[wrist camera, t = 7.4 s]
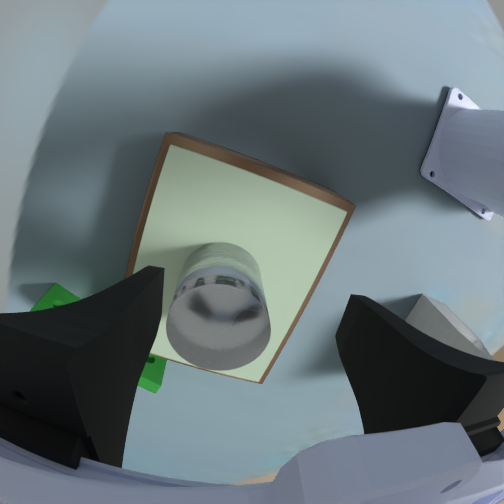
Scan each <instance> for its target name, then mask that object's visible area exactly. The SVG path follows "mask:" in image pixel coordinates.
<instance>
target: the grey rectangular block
mask: <svg viewBox="0 0 504 504" xmlns="http://www.w3.org/2000/svg"><path fill="white" fill-rule="evenodd" d="M405 322H407V323H409V324H410V325H412V326H413V327H415V328H417V329H418V330H420V331H421V332H423V333H425V334H427V335H428V336H430V337H432V338H434V339H436V340H438V341H440V342H442V343H444V344H446V345H449V346H451V347H453V348H456V349H458V350H461V351H463V352H466V353H469V354H472V355H475V356H478V357H482V358H485V359H489V360H493V358H492V357H491V355H490V354H489V352H488V351H487V349H486V348H485V346H484V345H483V343H482V341H481V340H480V339H479V338H478V337H477V336H476V334H475V333H474V332H473V331H472V330H471V329H470V328H469V327H468V326H467V325H466V324H465V323H464V322H463V321H462V320H461V319H460V318H459V317H458V316H457V315H456V314H455V313H454V312H453V311H452V310H451V309H450V308H449V307H448V306H447V305H446V304H444V303H442V302H440V301H438V300H436V299H433V298H431V297H429V296H427V295H425V294H423V293H422V295H421V296H420V298H419V300H418V301H417V303H416V304H415V306H414V307H413V309H412V310H411V312H410V314H409V315H408V317H407V318H406V320H405Z"/></svg>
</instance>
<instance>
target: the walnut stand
mask: <svg viewBox="0 0 504 504" xmlns="http://www.w3.org/2000/svg"><path fill="white" fill-rule="evenodd" d="M355 207H356V206H355V205H354V204H352V203H351V202H349V201H348V200H346V199H345V198H343V197H342V196H340V195H339V194H337V193H336V192H334V191H332V190H329V189H327V188H325V187H323V186H320V185H318V184H316V183H313V182H311V181H309V180H306V179H304V178H302V177H299V176H297V175H294V174H292V173H289V172H287V171H285V170H282V169H280V168H277V167H275V166H272V165H269V164H267V163H264V162H262V161H259V160H257V159H254V158H251V157H249V156H246V155H243V154H241V153H238V152H235V151H232V150H230V149H227V148H224V147H221V146H218V145H215V144H213V143H210V142H207V141H204V140H201V139H198V138H195V137H192V136H189V135H186V134H183V133H180V132H172V133H166V134H165V137H164V140H163V143H162V146H161V149H160V152H159V155H158V158H157V161H156V164H155V167H154V170H153V173H152V176H151V180H150V183H149V186H148V190H147V193H146V196H145V200H144V203H143V207H142V210H141V214H140V218H139V222H138V225H137V229H136V233H135V237H134V241H133V245H132V249H131V253H130V258H129V262H128V267H127V271H126V276H125V279H126V278H128V277H129V276H131V275H133V274H134V273H136V272H138V271H139V270H141V269H143V268H144V267H146V266H148V265H150V266H156V267H162V268H165V272H164V287H163V304H162V316H161V320H160V325H159V328H158V332H157V336H156V339H155V341H154V344H153V346H152V349H151V351H150V354H152V355H155V356H158V357H161V358H164V359H167V360H171V361H174V362H177V363H181V364H184V365H188V366H191V367H195V368H198V369H202V370H206V371H209V372H213V373H217V374H221V375H225V376H229V377H233V378H237V379H241V380H246V381H250V382H255V383H259V384H262V383H263V382H264V380H265V378H266V376H267V375H268V373H269V371H270V370H271V368H272V366H273V365H274V363H275V361H276V359H277V358H278V356H279V354H280V353H281V351H282V349H283V347H284V345H285V344H286V342H287V340H288V338H289V337H290V335H291V333H292V331H293V329H294V328H295V326H296V324H297V322H298V320H299V319H300V317H301V315H302V313H303V311H304V309H305V307H306V306H307V304H308V302H309V300H310V298H311V296H312V294H313V292H314V290H315V288H316V287H317V285H318V283H319V281H320V279H321V277H322V275H323V273H324V271H325V269H326V267H327V265H328V263H329V261H330V259H331V257H332V255H333V253H334V251H335V249H336V247H337V245H338V243H339V241H340V239H341V237H342V235H343V232H344V230H345V228H346V226H347V224H348V222H349V220H350V218H351V215H352V213H353V211H354V209H355ZM215 242H226V243H231V244H235V245H237V246H240V247H242V248H243V249H245V250H246V251H248V252H249V253H250V254H251V255H252V256H253V257H254V259H255V260H256V262H257V264H258V266H259V269H260V273H261V278H262V283H263V288H264V293H265V298H266V303H267V308H268V314H269V319H270V324H271V336H270V340H269V343H268V345H267V347H266V348H265V350H264V351H263V353H262V354H261V355H260V356H259V357H258V358H257V359H255V360H254V361H252V362H251V363H249V364H247V365H245V366H243V367H240V368H237V369H232V370H224V371H215V370H208V369H203V368H200V367H197V366H195V365H193V364H191V363H189V362H187V361H186V360H184V359H183V358H182V357H181V356H179V355H178V354H177V353H176V351H175V350H174V349H173V348H172V346H171V344H170V342H169V340H168V337H167V334H166V320H167V316H168V313H169V309H170V306H171V303H172V300H173V297H174V293H175V290H176V287H177V284H178V281H179V278H180V275H181V272H182V269H183V266H184V263H185V261H186V260H187V258H188V257H189V256H190V255H191V254H192V253H193V252H194V251H195V250H196V249H198V248H200V247H201V246H204V245H206V244H210V243H215Z"/></svg>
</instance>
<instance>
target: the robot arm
mask: <svg viewBox="0 0 504 504" xmlns="http://www.w3.org/2000/svg"><path fill="white" fill-rule="evenodd" d="M458 95H459V97H460V99H459V98H458ZM431 171H432V176H431V177H430V172H431ZM420 172H421V175H422V176H423V177H425V178H426V179H428V180H429V181H431V182H432V183H434V184H435V185H437V186H438V187H440V188H441V189H443V190H444V191H446V192H447V193H449V194H450V195H452V196H453V197H454V198H456V199H457V200H459V201H460V202H462V203H463V204H464V205H466V206H467V207H468V208H470V209H471V210H473V211H474V212H475V213H477V214H478V215H479V216H481V217H482V218H483V219H484V220H486V221H489V220H490V219H491V218H492V215H493V213H494V212H495V213H497V214H499V215H501V216H503V217H504V111H499V110H481V109H480V108H479V107H478V106H477V105H476V104H475V103H474V102H473V101H471V100H470V99H469V98H468V97H467V96H466V95H465V94H464V93H462V92H461V91H460V90H459V89H458V88H456V87H451V88H450V89H449V92H448V95H447V98H446V101H445V104H444V107H443V110H442V113H441V116H440V119H439V122H438V125H437V128H436V130H435V133H434V136H433V138H432V141H431V144H430V146H429V149H428V151H427V154H426V157H425V159H424V162H423V164H422V166H421V170H420ZM482 209H483V210H482ZM481 211H482V212H481ZM164 272H165V268H162V267H156V266H150V265H148V266H146V267H144V268H143V269H141V270H139V271H138V272H136V273H134V274H133V275H131V276H129V277H128V278H126V279H124V280H122V281H121V282H119V283H117V284H115V285H113V286H111V287H109V288H107V289H105V290H103V291H101V292H99V293H97V294H95V295H92V296H90V297H87V298H84V299H82V300H79V301H76V302H72V303H69V304H65V305H61V306H58V307H54V308H49V309H44V310H37V311H31V312H20V313H0V504H499V503H501V502H502V501H503V500H504V429H503V430H502V431H501V432H500V431H499V430H498V428H497V426H499V424H500V420H499V418H498V417H497V415H498V414H499V413H500V412H501V410H502V409H503V408H504V362H498V361H494V360H489V359H485V358H482V357H478V356H475V355H472V354H469V353H466V352H463V351H461V350H458V349H456V348H453V347H451V346H449V345H446V344H444V343H442V342H440V341H438V340H436V339H434V338H432V337H430V336H428V335H427V334H425V333H423V332H421V331H420V330H418V329H417V328H415V327H413V326H412V325H410V324H409V323H407V322H405V321H404V320H402V319H401V318H399V317H398V316H396V315H395V314H393V313H392V312H391V311H389V310H388V309H386V308H385V307H383V306H382V305H380V304H378V303H377V302H375V301H374V300H372V299H370V298H368V297H366V296H362V295H353V294H351V296H350V298H349V301H348V304H347V307H346V309H345V312H344V315H343V317H342V320H341V323H340V325H339V328H338V330H337V333H336V335H335V337H336V342H337V347H338V351H339V355H340V358H341V361H342V364H343V366H344V369H345V371H346V374H347V377H348V379H349V382H350V384H351V387H352V389H353V392H354V395H355V397H356V400H357V403H358V406H359V410H360V415H361V419H362V423H363V428H364V434H363V435H351V436H347V437H342V438H337V439H332V440H326V441H323V442H321V443H318V444H316V445H314V446H312V447H309V448H307V449H304V450H302V451H300V452H299V453H297V454H296V455H295V456H294V457H293V458H292V459H291V460H289V461H288V462H287V463H286V464H285V465H284V466H283V467H282V468H281V469H280V471H279V472H278V474H277V476H276V477H275V479H274V480H273V482H264V483H256V484H246V485H228V484H215V483H204V482H195V481H187V480H180V479H173V478H167V477H161V476H155V475H150V474H145V473H140V472H136V471H131V470H127V469H123V468H122V461H123V454H124V448H125V442H126V436H127V430H128V425H129V420H130V415H131V410H132V406H133V402H134V397H135V393H136V389H137V386H138V383H139V380H140V377H141V374H142V372H143V369H144V367H145V364H146V361H147V359H148V356H149V354H150V351H151V349H152V346H153V344H154V341H155V339H156V336H157V332H158V328H159V325H160V320H161V316H162V304H163V287H164Z"/></svg>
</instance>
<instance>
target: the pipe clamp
mask: <svg viewBox="0 0 504 504" xmlns="http://www.w3.org/2000/svg"><path fill="white" fill-rule="evenodd" d="M79 300H81V299H80V298H78V297H77V296H75V295H74V294H72V293H70V292H69V291H67V290H66V289H64V288H63V287H61V286H60V285H58V284H57V283H55V284H54V285H53V286H52V287H51V288H50V289H49V290H48V291H47V292H46V294H45V295H44V296H43V297H42V298H41V299H40V300H39V301H38V302H37V303H36V305H35V306H34V307H33V308H32V309H31V311H37V310H44V309H49V308H54V307H58V306H61V305H65V304H69V303H72V302H76V301H79ZM31 311H30V312H31ZM166 361H167V359H164V358H161V357H158V356H155V355H152V354H149V356H148V359H147V361H146V364H145V367H144V369H143V372H142V374H141V377H140V380H139V383H138V386H140V387H142V388H144V389H147V390H149V391H151V392H153V393H156V392H157V390H158V389H159V388H160V387H161V383H162V379H163V374H164V370H165V366H166Z"/></svg>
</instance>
